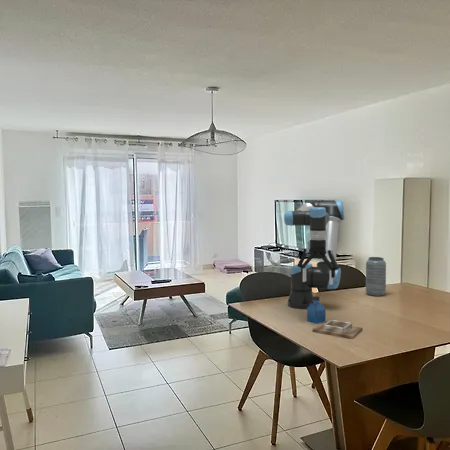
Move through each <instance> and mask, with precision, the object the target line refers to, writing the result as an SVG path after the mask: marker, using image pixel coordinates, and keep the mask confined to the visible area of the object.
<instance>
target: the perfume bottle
mask: <svg viewBox="0 0 450 450" xmlns="http://www.w3.org/2000/svg"><path fill="white" fill-rule="evenodd" d="M320 302H321V299H320V296H318V295H317V296H314V295H313V303H310V305H309V306H308V308H307V309H306V311H307V312H306V314H307V315H306V316H307V317H306V320H307V322H309V323H312V324H314V325H317V324H318V325H319V324H321V323H323V322H324V321H325V322H326V317H327V316H326V315H327V314H326V308H325V306H324V304H322V303H320Z"/></svg>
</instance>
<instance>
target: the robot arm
mask: <svg viewBox="0 0 450 450" xmlns="http://www.w3.org/2000/svg"><path fill="white" fill-rule="evenodd" d="M283 219H284V220H283V221H284V224H285V225H286V226H291V227H292V226H297V227H298V226H309V239H310V240H309V248H303V252H302V254H301V257H300V258H299V261H298V263H297V264H294V265H292V266H291V269H290V293H289V297H288V300H287V306H288V307H290V308H293V309H301V310H302V309H303V310H305V309H306V310H307V308H308V306H309V305H310V303H313V297H314V294H313V289H327V290H336V289H337V288H338V287H339V285H340V282H341V274H342V269H341V267H340V266H339V264H338V263H337V250H338V236H339V225H341V224H342V221H344V220H345V210H344V203H343V201H342V200H339V199H337V200H336V199H328V200H325V199H324V200H321V199H320V200H317V199H316V200H315V199H314V200H311V201H308V202H305V203H303V204H301V205H300V207H299V208H298V209H296V210H286V211H285V212H284V217H283ZM308 254H309V256H308V257H307V255H308ZM306 258H307V259H306ZM305 259H306V260H305ZM312 259H318V260H319V261H318V262H317V263H316V266H313V264H312V263H310V262H311V261H312Z"/></svg>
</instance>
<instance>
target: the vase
mask: <svg viewBox="0 0 450 450" xmlns="http://www.w3.org/2000/svg"><path fill="white" fill-rule="evenodd" d="M386 286H387V262H386V260H384V257H380V256H370V257H368V259H367V260H366V261H365V292H366V293H367V294H368V296H371V297H382V296H384V294H386V293H387V287H386Z"/></svg>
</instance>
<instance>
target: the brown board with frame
mask: <svg viewBox="0 0 450 450" xmlns="http://www.w3.org/2000/svg"><path fill="white" fill-rule="evenodd" d="M311 330H312V331H311V332H313V333H318V334H323V335H328V336H333V337H334V336H335V337H340V338H344V339H349V340H350V339H351V340H353V339H355V338H356V336H358V335H359V334H360V333H362V331H363V327H360V326H355V325H353V323H352V322H348V321H342V320H335V319H330V320H328V321H326V320H325V321H324V322H323V323H319V324H318V325H317V326H315V327H313V328H312V329H311Z"/></svg>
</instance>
